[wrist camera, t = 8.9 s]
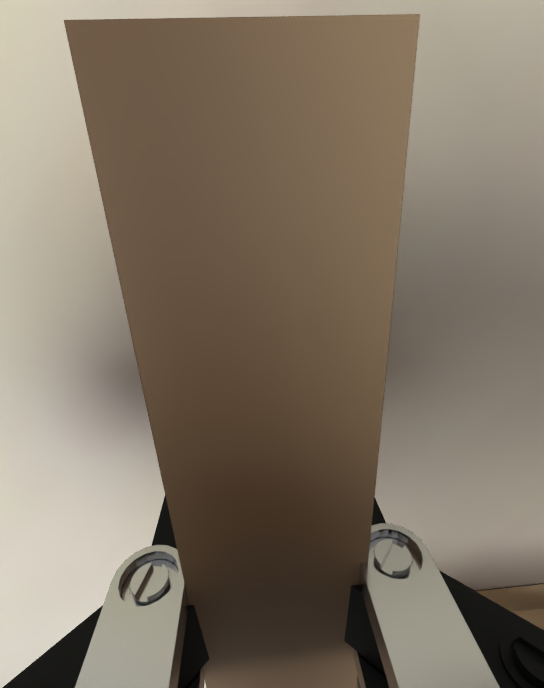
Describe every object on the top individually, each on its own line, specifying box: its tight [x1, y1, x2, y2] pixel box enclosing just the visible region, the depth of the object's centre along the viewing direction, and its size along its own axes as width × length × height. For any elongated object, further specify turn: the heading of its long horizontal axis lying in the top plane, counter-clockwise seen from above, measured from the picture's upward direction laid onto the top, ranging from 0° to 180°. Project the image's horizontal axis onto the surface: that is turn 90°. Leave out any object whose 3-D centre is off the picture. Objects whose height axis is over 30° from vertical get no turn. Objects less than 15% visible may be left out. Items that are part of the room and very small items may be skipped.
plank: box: [64, 14, 420, 688], centre depth 9 cm, size 3×16×6 cm, turn 3°
